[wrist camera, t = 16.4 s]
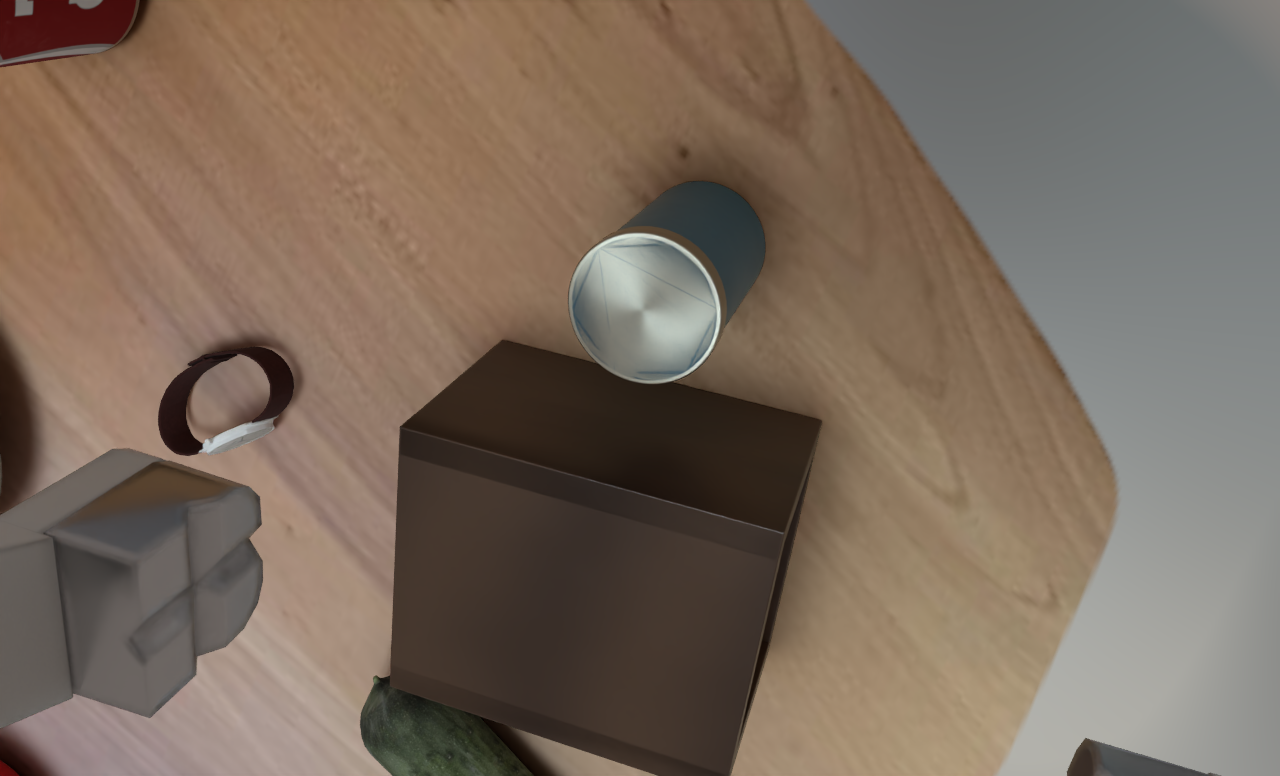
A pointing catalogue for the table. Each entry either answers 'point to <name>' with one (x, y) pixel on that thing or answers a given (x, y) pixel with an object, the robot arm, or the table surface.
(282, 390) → the watch
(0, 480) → the planter
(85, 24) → the soda can
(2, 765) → the tomato
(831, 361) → the table surface
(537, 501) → the brown box
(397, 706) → the vegetable
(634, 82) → the table surface
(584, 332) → the enamel canister
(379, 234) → the table surface
